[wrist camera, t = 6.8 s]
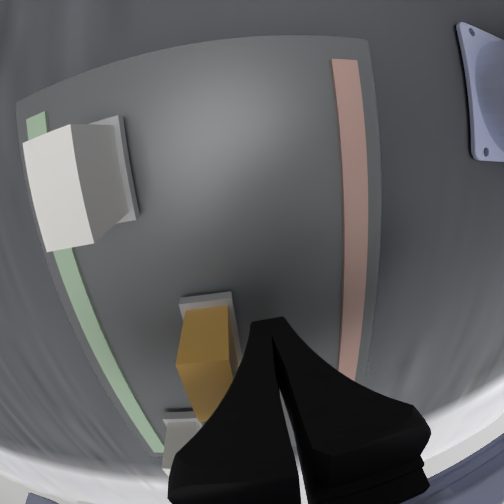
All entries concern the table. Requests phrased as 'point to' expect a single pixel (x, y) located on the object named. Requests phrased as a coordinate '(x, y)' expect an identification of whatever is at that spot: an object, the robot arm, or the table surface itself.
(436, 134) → the table surface
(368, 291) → the board
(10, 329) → the table surface
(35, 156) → the block
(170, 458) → the block
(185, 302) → the block
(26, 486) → the table surface
